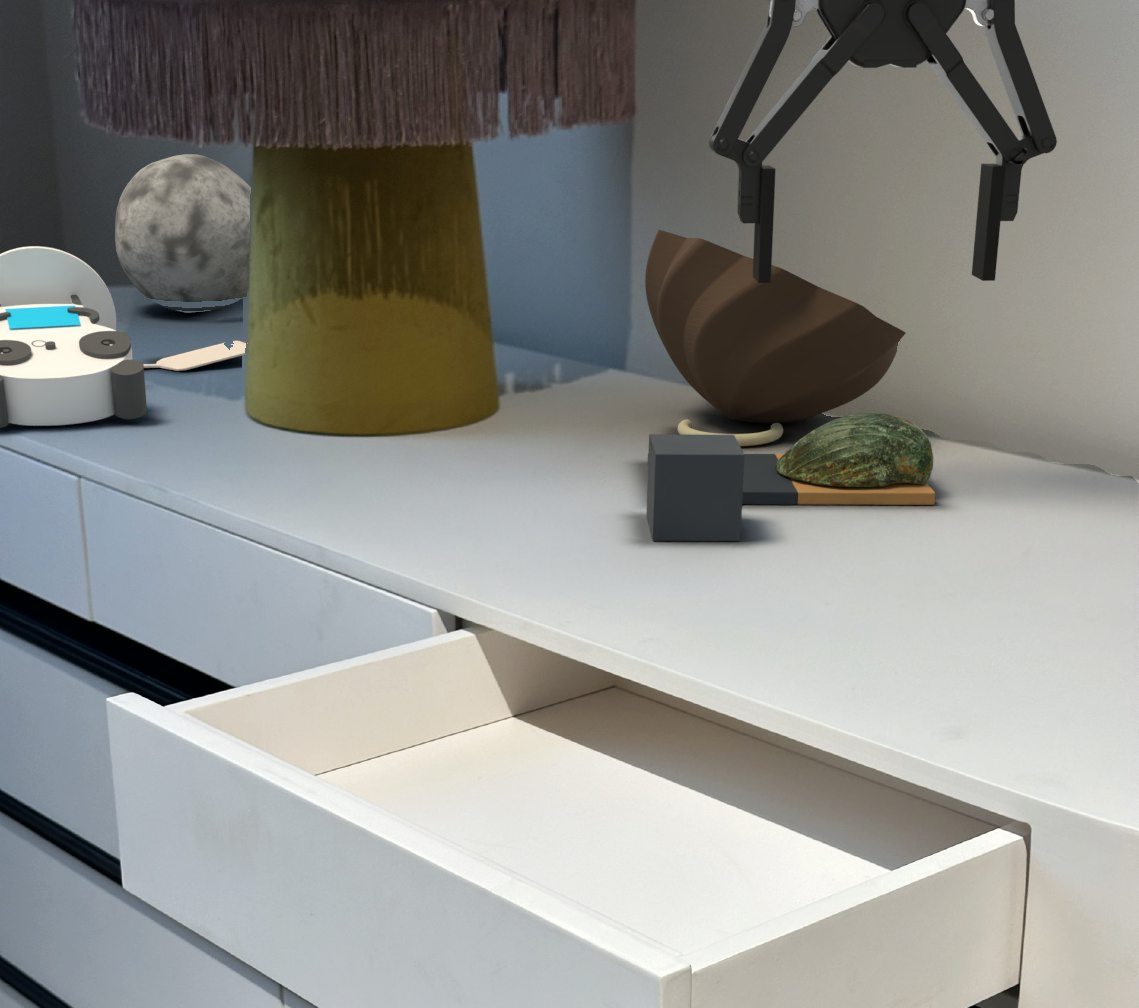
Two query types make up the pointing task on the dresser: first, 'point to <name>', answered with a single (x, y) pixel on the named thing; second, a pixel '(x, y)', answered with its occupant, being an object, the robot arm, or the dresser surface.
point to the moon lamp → (185, 231)
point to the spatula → (200, 357)
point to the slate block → (694, 487)
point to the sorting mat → (820, 488)
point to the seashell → (861, 453)
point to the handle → (742, 439)
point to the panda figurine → (62, 344)
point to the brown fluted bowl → (761, 334)
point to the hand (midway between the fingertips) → (872, 279)
